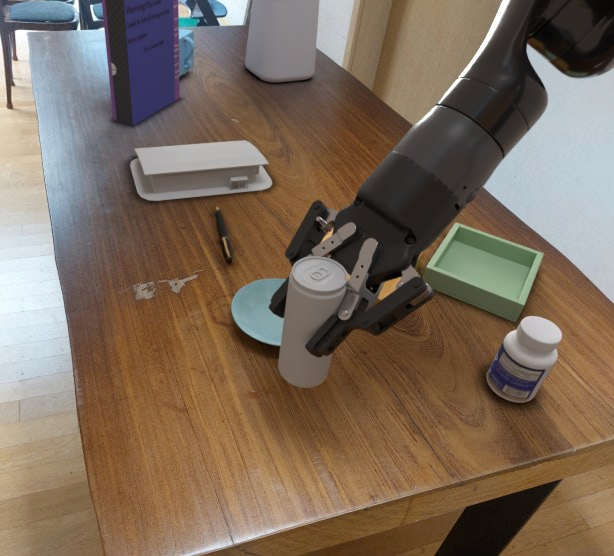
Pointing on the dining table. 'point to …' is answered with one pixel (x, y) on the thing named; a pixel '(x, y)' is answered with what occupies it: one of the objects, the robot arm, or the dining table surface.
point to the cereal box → (141, 56)
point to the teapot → (186, 50)
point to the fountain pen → (224, 236)
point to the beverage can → (309, 317)
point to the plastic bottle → (282, 39)
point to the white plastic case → (199, 170)
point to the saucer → (258, 311)
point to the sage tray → (484, 271)
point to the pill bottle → (524, 359)
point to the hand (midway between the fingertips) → (293, 332)
